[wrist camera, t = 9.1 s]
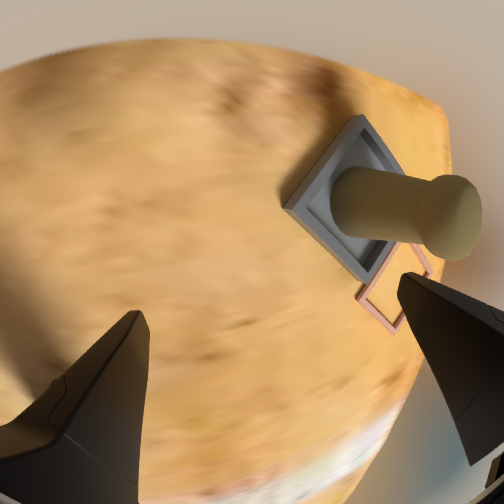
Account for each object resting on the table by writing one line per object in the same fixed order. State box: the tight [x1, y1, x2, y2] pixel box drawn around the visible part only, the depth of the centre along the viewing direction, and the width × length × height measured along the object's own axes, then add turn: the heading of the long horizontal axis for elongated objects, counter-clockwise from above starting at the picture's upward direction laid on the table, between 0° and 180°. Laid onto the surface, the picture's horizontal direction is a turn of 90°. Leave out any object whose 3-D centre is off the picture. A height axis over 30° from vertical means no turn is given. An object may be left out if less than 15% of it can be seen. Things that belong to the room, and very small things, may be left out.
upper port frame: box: [356, 242, 433, 335], centre depth 26 cm, size 9×9×1 cm
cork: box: [330, 166, 482, 261], centre depth 17 cm, size 6×6×11 cm
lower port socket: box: [282, 114, 405, 285], centre depth 21 cm, size 10×10×2 cm
